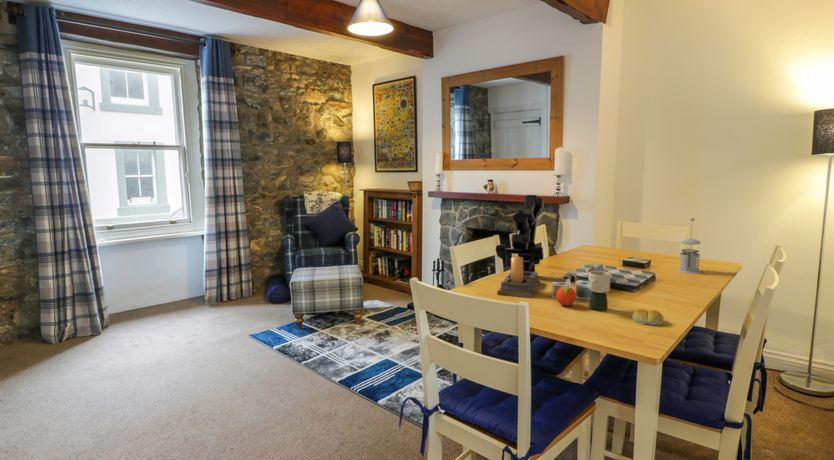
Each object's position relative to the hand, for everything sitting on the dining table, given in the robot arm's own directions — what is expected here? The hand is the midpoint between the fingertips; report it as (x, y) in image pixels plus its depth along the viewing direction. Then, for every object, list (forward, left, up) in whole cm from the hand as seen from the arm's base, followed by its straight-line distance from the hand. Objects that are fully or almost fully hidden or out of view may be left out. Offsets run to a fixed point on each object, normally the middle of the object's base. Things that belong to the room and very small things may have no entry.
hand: (516, 269), depth 185 cm
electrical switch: (-19, +30, -10) cm, 37 cm away
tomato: (+11, +20, -10) cm, 25 cm away
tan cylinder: (-1, 0, -8) cm, 8 cm away
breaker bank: (-7, 0, -10) cm, 12 cm away
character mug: (+11, +31, -10) cm, 34 cm away
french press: (-61, +68, -10) cm, 92 cm away
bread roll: (+19, +46, -10) cm, 51 cm away
